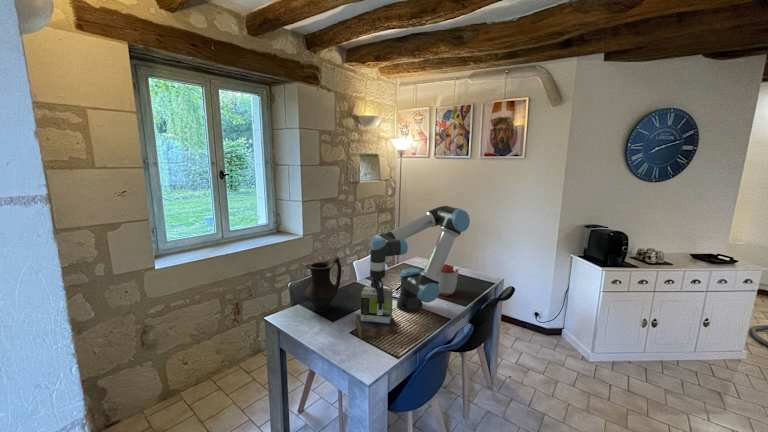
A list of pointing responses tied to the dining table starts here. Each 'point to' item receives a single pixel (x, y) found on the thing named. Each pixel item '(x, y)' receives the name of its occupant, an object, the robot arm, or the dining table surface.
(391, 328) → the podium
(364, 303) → the tea box
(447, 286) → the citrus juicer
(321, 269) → the jug
